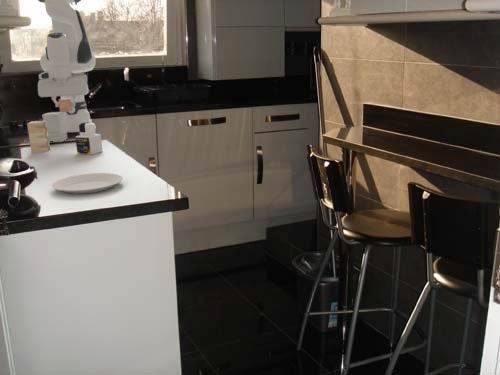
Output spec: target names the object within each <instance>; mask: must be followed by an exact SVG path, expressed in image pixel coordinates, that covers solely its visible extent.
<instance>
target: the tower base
mask: <svg viewBox="0 0 500 375" xmlns="http://www.w3.org/2000/svg"><path fill="white" fill-rule="evenodd" d="M29 144H30V151H31V154H33V153H47V152H48V151H50V150H51V146H50V142H49V140H48V141H46V142H42V143H30V142H29Z"/></svg>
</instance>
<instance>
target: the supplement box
mask: <svg viewBox="0 0 500 375" xmlns="http://www.w3.org/2000/svg"><path fill="white" fill-rule="evenodd" d="M41 117H42V121H46V123H47V130H48V137H49V143H51V142H50V141H53V142H52V143H62V142H65V141H66V139H67V140H68V132H66V125H65V118H64V112H60V111H51V112H47V113H43V114H41ZM64 140H65V141H64Z"/></svg>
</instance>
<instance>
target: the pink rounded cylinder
mask: <svg viewBox="0 0 500 375" xmlns="http://www.w3.org/2000/svg"><path fill="white" fill-rule="evenodd" d="M58 102H59V107H58V108H59V112H69V111H72V106H71V99H70V98H65V99H61V98H59V99H58Z"/></svg>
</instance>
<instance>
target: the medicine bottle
mask: <svg viewBox="0 0 500 375" xmlns="http://www.w3.org/2000/svg"><path fill="white" fill-rule="evenodd" d="M95 127H96V123H94V122H93V121H92V122H86V123H81V124H79V131H80V132H79V135H76V136H75V137H74V138H75V145H76V147H75V148H76V153H77V155H83V156H84V155H85V156H91V155H95V154H99V153H102V152H103V141H102V135H101V133H96V129H95Z"/></svg>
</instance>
